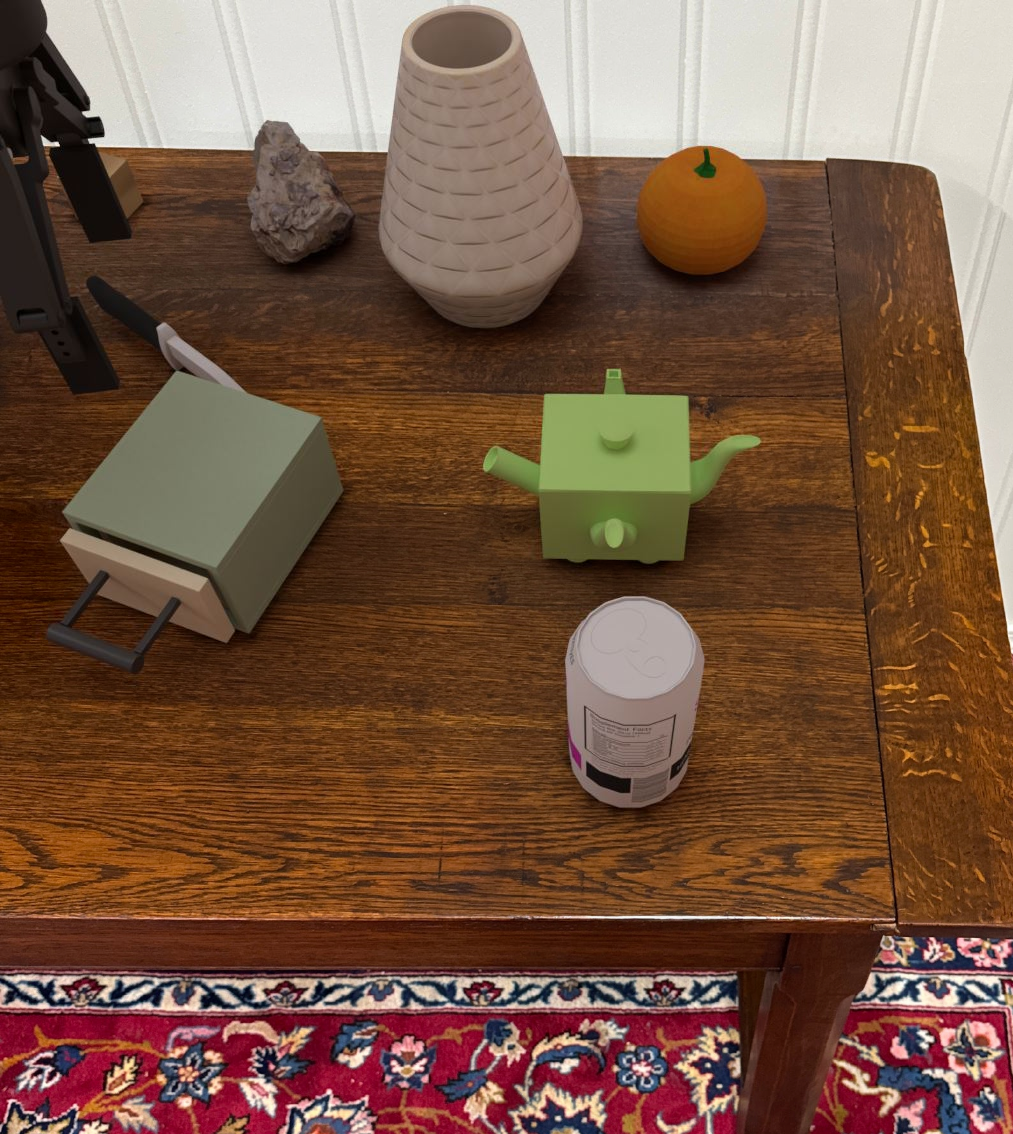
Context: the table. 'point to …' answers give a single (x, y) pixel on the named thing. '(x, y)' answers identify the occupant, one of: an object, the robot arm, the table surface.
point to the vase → (475, 172)
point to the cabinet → (216, 488)
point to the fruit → (701, 211)
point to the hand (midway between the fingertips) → (104, 309)
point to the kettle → (615, 474)
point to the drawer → (139, 596)
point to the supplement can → (632, 700)
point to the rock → (294, 197)
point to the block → (118, 184)
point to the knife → (156, 334)
